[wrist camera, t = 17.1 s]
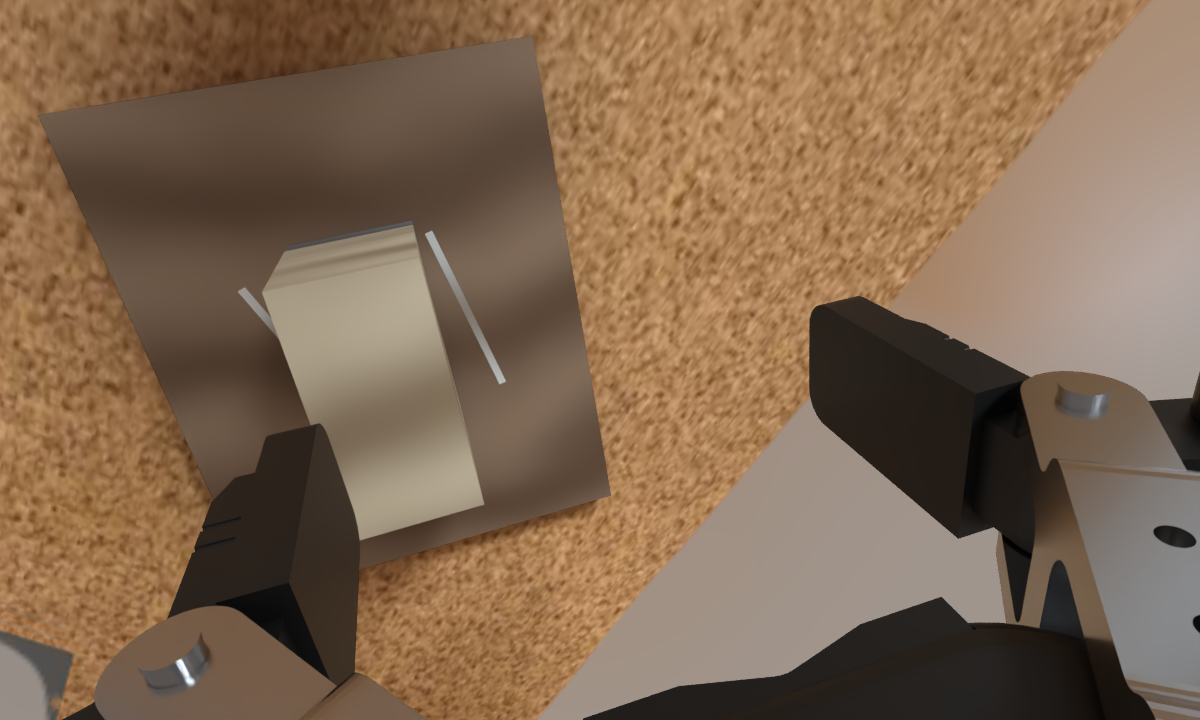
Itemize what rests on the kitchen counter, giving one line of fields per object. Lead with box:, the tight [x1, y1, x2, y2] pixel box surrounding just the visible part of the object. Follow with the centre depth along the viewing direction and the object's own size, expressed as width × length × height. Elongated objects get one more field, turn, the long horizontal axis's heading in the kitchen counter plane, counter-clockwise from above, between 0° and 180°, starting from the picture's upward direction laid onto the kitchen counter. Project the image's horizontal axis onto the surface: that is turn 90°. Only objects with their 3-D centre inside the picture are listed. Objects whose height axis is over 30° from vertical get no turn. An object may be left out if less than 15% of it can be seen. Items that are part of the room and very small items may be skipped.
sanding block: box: [262, 221, 484, 540], centre depth 25 cm, size 9×4×6 cm, turn 9°
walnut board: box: [38, 36, 611, 570], centre depth 28 cm, size 20×16×2 cm
